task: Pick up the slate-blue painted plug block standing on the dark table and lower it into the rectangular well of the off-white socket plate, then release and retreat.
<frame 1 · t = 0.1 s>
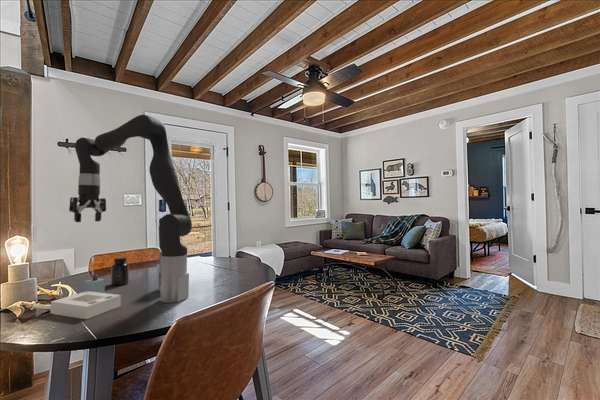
hand: (88, 221, 119), 29 cm above the table, fingers open, 8 cm apart
supplement bottle: (119, 284, 127), on the table
coffee box: (170, 288, 122), on the table
socket plate: (86, 309, 95), on the table
plug block: (94, 298, 107), on the table
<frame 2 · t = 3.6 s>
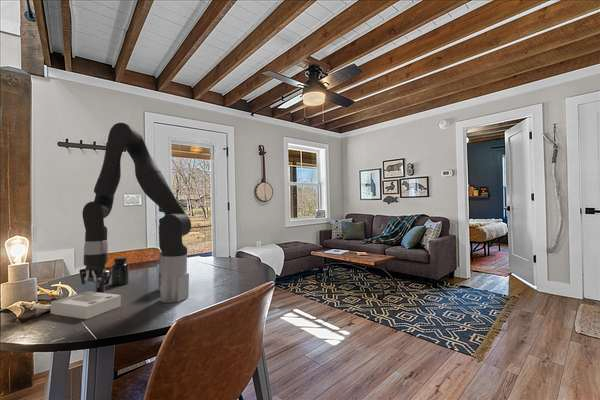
hand: (94, 295, 107), 1 cm above the table, fingers closed on plug block, 4 cm apart
plug block: (94, 298, 107), on the table, touching gripper
everything else where it was.
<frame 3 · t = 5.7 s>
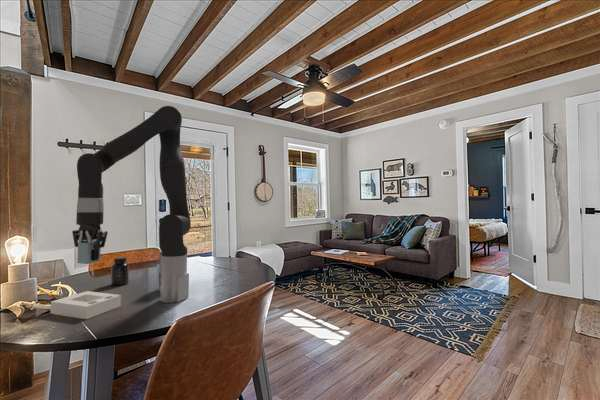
hand: (89, 259, 96), 17 cm above the table, fingers closed on plug block, 4 cm apart
plug block: (88, 262, 96), point 16 cm above the table, touching gripper
everything else where it was.
when the fingers open (4 cm above the table, at t = 8.1 s): plug block drops 3 cm, resting in socket plate.
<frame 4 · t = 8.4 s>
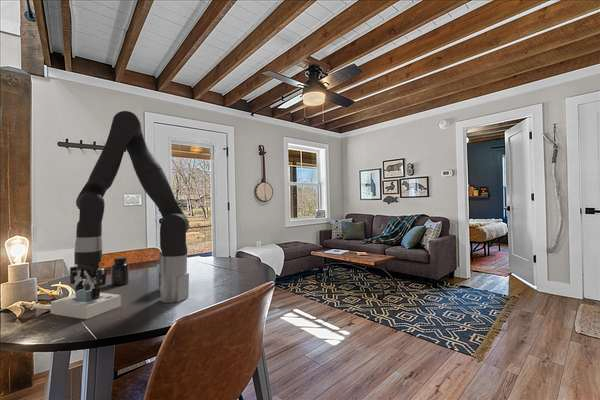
hand: (87, 297, 95), 4 cm above the table, fingers open, 6 cm apart
plug block: (87, 310, 95), resting in socket plate
everything else where it was.
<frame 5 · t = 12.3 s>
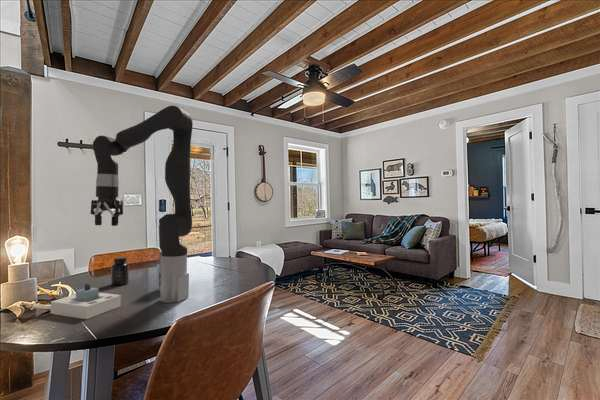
hand: (106, 225, 112), 28 cm above the table, fingers open, 8 cm apart
nothing on the table moved.
at the end: plug block 0.0 cm off-centre on the socket plate, point 0.0 cm above the socket plate's base; plug block tilted 0°; the gripper is holding nothing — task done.
